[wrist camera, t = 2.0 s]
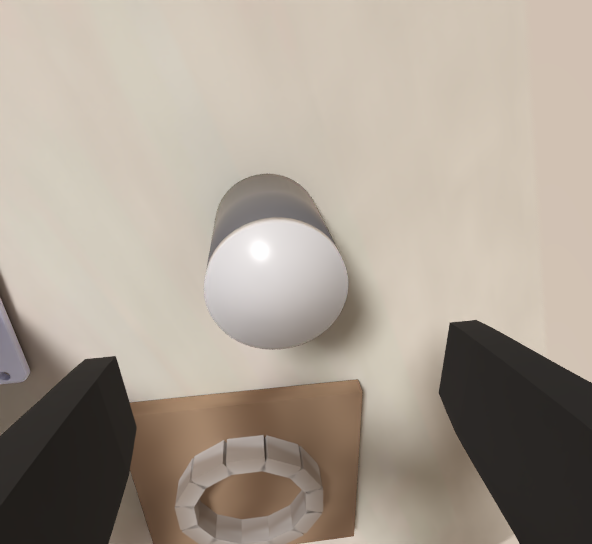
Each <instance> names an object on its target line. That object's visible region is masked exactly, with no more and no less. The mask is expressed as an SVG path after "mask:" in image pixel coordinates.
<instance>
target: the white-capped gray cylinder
mask: <svg viewBox="0 0 592 544" xmlns="http://www.w3.org/2000/svg"><path fill="white" fill-rule="evenodd" d="M347 294H348V274H347V269H346V266H345V264H344V261H343V259H342V257H341V255H340V253H339V251H338V249H337V247H336V245H335V243H334V241H333V239H332V237H331V235H330V233H329V231H328V229H327V227H326V225H325V223H324V221H323V219H322V217H321V215H320V213H319V211H318V209H317V207H316V205H315V203H314V201H313V200H312V198H311V196H310V195H309V193H308V192H307V191H306V190H305V189H304V188H303V187H302V186H301V185H299V184H298V183H297V182H295V181H293V180H292V179H289V178H287V177H284V176H280V175H275V174H260V175H255V176H251V177H248V178H246V179H243V180H242V181H240V182H238V183H237V184H235V185H234V186H233V187H232V188H231V189H230V190H229V191H228V192H227V193H226V194H225V195H224V197H223V198H222V200H221V202H220V204H219V207H218V209H217V213H216V218H215V224H214V230H213V235H212V241H211V247H210V253H209V258H208V264H207V270H206V276H205V282H204V296H205V301H206V305H207V308H208V310H209V313H210V315H211V316H212V318H213V320H214V321H215V323H216V324H217V325H218V326H219V327H220V328H221V329H222V330H223V331H224V332H225V333H226V334H227V335H229V336H230V337H231V338H233V339H235V340H237V341H238V342H241V343H243V344H245V345H248V346H252V347H255V348H261V349H272V350H273V349H285V348H291V347H295V346H299V345H301V344H304V343H306V342H308V341H310V340H312V339H314V338H316V337H317V336H319V335H320V334H322V333H323V332H324V331H325V330H327V329H328V328H329V327H330V326H331V325H332V324H333V323H334V321H335V320H336V319H337V317H338V316H339V314H340V312H341V311H342V309H343V306H344V304H345V301H346V298H347Z"/></svg>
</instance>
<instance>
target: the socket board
mask: <svg viewBox="0 0 592 544" xmlns="http://www.w3.org/2000/svg"><path fill="white" fill-rule="evenodd" d="M130 406H131V409H132V413H133V416H134V420H135V423H136V426H137V430H136V436H135V442H134V449H133V455H132V460H131V465H130V471H131V474H132V478H133V481H134V484H135V487H136V490H137V493H138V497H139V500H140V503H141V506H142V509H143V512H144V516H145V519H146V522H147V525H148V528H149V531H150V535H151V538H152V541H153V544H300V543H307V542H315V541H322V540H329V539H337V538H344V537H351V536H354V526H355V509H356V492H357V476H358V459H359V442H360V425H361V409H362V389H361V387H360V384H359V381H358V380H348V381H338V382H328V383H319V384H309V385H299V386H289V387H279V388H270V389H260V390H250V391H240V392H230V393H220V394H211V395H201V396H191V397H181V398H171V399H162V400H152V401H142V402H132V403H130Z"/></svg>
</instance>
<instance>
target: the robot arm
mask: <svg viewBox="0 0 592 544" xmlns="http://www.w3.org/2000/svg"><path fill="white" fill-rule="evenodd" d="M4 372H7V373H9V375H7V374H5V373H4ZM29 374H30V369H29V366H28V364H27V361H26V359H25V356H24V354H23V352H22V349H21V347H20V344H19V342H18V339H17V337H16V335H15V332H14V330H13V327H12V325H11V322H10V320H9V318H8V315H7V313H6V310H5V308H4V305H3V303H2V301H1V298H0V384H9V383H19V382H23V381H25V380H26V379H27V377H28V376H29ZM439 395H440V397H441V399H442V402H443V404H444V407H445V409H446V412H447V414H448V417H449V419H450V421H451V423H452V425H453V428H454V430H455V432H456V434H457V436H458V438H459V440H460V442H461V443H462V445H463V447H464V449H465V450H466V452H467V454H468V456H469V457H470V459H471V461H472V463H473V464H474V466H475V468H476V469H477V471H478V473H479V475H480V476H481V478H482V480H483V481H484V483H485V485H486V486H487V488H488V490H489V492H490V493H491V495H492V497H493V498H494V500H495V502H496V503H497V505H498V507H499V508H500V510H501V512H502V514H503V515H504V517H505V519H506V520H507V522H508V524H509V525H510V527H511V529H512V531H513V532H514V534H515V536H516V537H517V539H518V541H519V543H520V544H592V383H591V382H589V381H587V380H585V379H583V378H581V377H580V376H578V375H576V374H574V373H572V372H570V371H569V370H567V369H565V368H563V367H561V366H560V365H558V364H556V363H554V362H552V361H551V360H549V359H547V358H545V357H543V356H542V355H540V354H538V353H536V352H535V351H533V350H531V349H529V348H527V347H526V346H524V345H522V344H520V343H519V342H517V341H515V340H513V339H512V338H510V337H508V336H506V335H504V334H502V333H501V332H499V331H497V330H495V329H493V328H491V327H489V326H487V325H486V324H483V323H481V322H479V321H477V320H472V321H462V322H452V323H450V325H449V332H448V338H447V344H446V350H445V357H444V363H443V369H442V376H441V382H440V388H439ZM136 430H137V426H136V423H135V420H134V416H133V413H132V409H131V406H130V403H129V399H128V396H127V393H126V389H125V386H124V383H123V379H122V376H121V373H120V369H119V366H118V362H117V359H116V356H113V357H103V358H93V359H85V360H84V361H83V362H82V363H80V364H79V365H78V366H77V367H76V368H74V369H73V370H72V371H71V372H70V373H69V374H68V375H67V376H66V377H64V378H63V379H62V380H61V381H60V382H59V383H58V384H57V385H56V386H55V387H54V388H52V389H51V390H50V391H49V392H48V393H47V394H46V395H45V396H44V397H43V398H42V399H41V400H40V401H38V402H37V403H36V404H35V405H34V406H33V407H32V408H31V409H30V410H29V411H27V412H26V413H25V414H24V415H23V416H22V417H21V418H20V419H19V420H18V421H16V422H15V423H14V424H13V425H12V426H11V427H10V428H9V429H8V430H6V431H5V432H4V433H3V434H2V435H1V436H0V544H108V543H109V540H110V536H111V533H112V530H113V527H114V523H115V520H116V517H117V513H118V510H119V507H120V503H121V500H122V497H123V493H124V490H125V486H126V483H127V479H128V476H129V471H130V465H131V460H132V455H133V449H134V442H135V436H136Z"/></svg>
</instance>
